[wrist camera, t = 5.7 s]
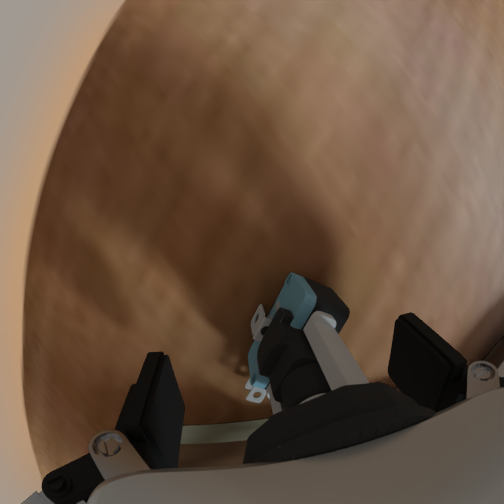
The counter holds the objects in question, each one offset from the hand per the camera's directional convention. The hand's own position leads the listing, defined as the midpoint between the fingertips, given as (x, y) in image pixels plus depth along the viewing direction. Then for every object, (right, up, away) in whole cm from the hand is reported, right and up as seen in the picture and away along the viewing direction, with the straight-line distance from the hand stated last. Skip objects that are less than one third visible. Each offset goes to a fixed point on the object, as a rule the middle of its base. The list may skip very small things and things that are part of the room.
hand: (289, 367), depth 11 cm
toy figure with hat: (0, +1, +3) cm, 3 cm away
